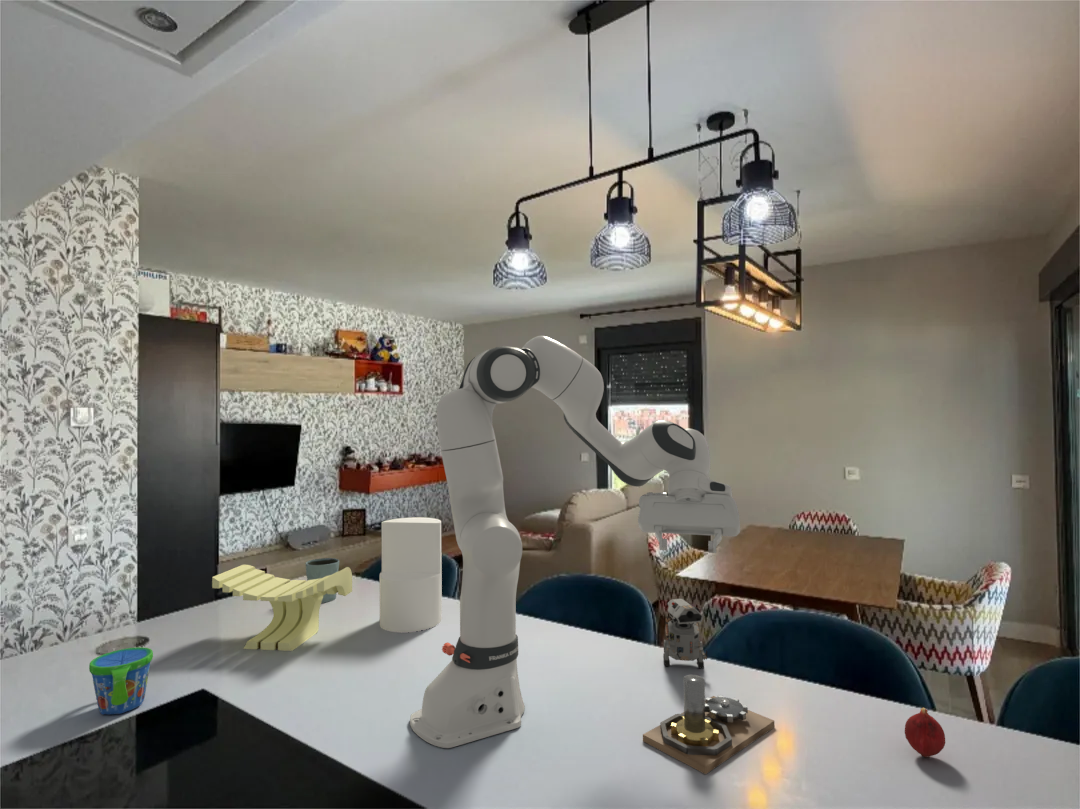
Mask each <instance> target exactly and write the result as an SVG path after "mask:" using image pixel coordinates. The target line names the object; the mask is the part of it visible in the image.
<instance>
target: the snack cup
mask: <svg viewBox="0 0 1080 809" xmlns="http://www.w3.org/2000/svg"><path fill="white" fill-rule="evenodd" d="M153 652H154V651H153V650H152V648H148V647H142V646H141V647H139V646H138V647H128V648H122V649H117V650H113V651H110V652H106V653H104V654H101V655H99V656H97V657H95V658H94V659H92V660H91V661H90V662H89V667H88V668H89V673H90V674H91V676H92V683H93V686H94V693H95V694H94V695H95V696H96V697H95V699H96V704H97V708H98V711H99V713H100V714H101V715H121V714H123V713H126V712H130V711H132V710H134V709H136V708H138V707H140V706H141V705H142V704H143V702H144V701H145V697H146V692H147V687H148V686H147V684H148V679H149V674H150V666H151V663H152V661H153V659H154V653H153Z"/></svg>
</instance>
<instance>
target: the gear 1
mask: <svg viewBox="0 0 1080 809" xmlns="http://www.w3.org/2000/svg"><path fill="white" fill-rule="evenodd" d="M705 681H706V680H705V678H704V677H703V676H700V675H697V674H688V675H685V676H683V712H684V717H682V720H680V721H678V722H677V723H672V724H671V734H676V736H677V738H678V741H679V742H681V743H683V744H688V745H692V746H708V745H709V744H711V743H712V742H713V741H718V742H719V730H714V729H713V727H712V726H711V721H709V720H707V719H705V699H706V697H705V696H706V694H705V693H706V692H705V689H706V688H705V687H706V685H705V684H706V682H705Z"/></svg>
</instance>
